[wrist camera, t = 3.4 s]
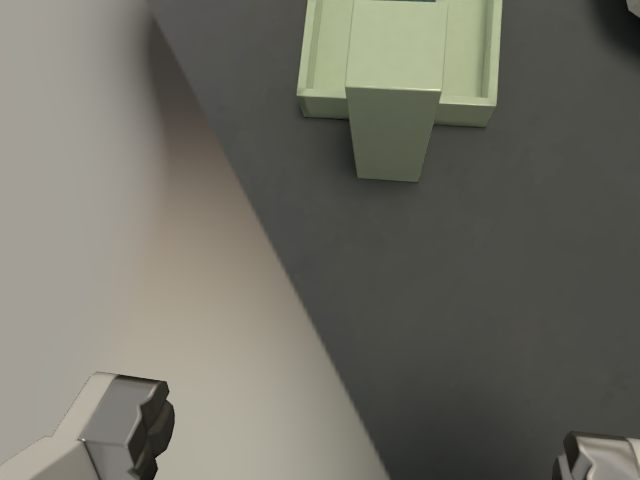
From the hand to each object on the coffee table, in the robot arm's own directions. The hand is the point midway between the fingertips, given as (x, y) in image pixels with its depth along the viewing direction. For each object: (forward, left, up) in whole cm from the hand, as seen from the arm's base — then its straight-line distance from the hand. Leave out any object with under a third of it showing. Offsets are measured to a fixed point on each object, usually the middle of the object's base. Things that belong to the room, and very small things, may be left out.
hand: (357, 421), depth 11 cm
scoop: (+4, +16, -14) cm, 22 cm away
